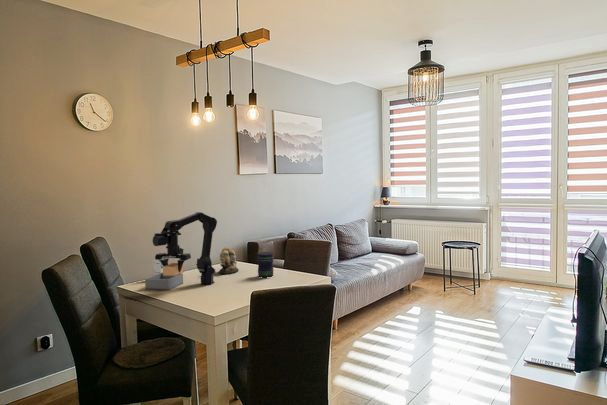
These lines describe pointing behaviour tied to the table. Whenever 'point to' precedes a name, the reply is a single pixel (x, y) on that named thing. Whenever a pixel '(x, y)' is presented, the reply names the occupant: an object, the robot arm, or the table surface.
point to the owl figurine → (228, 261)
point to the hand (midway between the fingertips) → (173, 271)
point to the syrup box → (158, 267)
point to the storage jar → (265, 264)
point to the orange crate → (172, 269)
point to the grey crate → (163, 282)
